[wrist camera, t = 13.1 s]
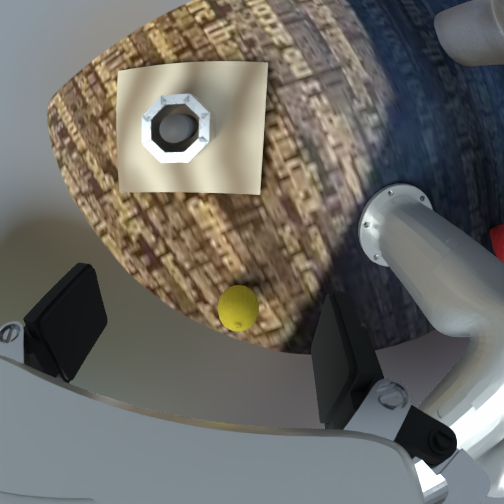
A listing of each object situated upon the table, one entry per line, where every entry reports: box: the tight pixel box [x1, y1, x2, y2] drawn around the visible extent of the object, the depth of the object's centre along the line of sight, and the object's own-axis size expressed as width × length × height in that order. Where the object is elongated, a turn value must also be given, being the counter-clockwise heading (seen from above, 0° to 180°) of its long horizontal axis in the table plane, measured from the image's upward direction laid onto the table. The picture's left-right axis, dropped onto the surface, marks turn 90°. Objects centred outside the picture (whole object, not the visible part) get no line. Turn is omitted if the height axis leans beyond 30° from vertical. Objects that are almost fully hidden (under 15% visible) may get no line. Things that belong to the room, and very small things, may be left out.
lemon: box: [218, 285, 259, 331], centre depth 37 cm, size 6×6×8 cm
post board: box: [117, 61, 268, 195], centre depth 27 cm, size 18×16×6 cm
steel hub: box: [142, 94, 216, 163], centre depth 26 cm, size 7×7×5 cm
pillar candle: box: [434, 0, 504, 67], centre depth 15 cm, size 10×10×15 cm
